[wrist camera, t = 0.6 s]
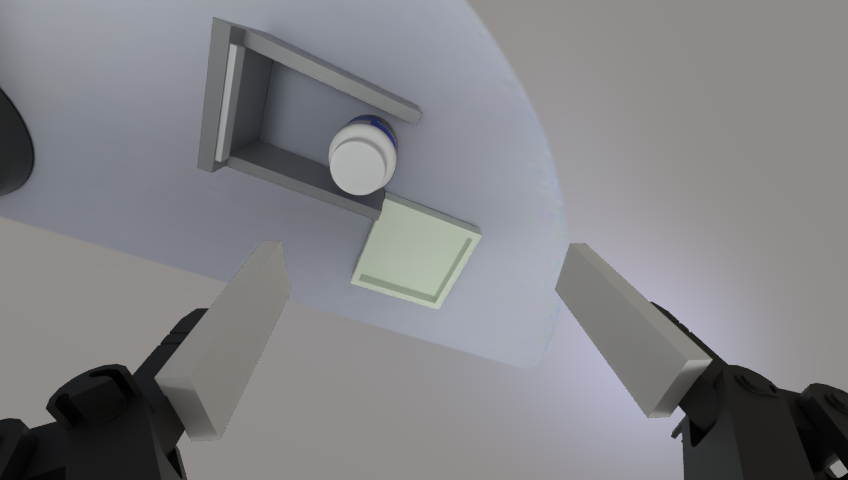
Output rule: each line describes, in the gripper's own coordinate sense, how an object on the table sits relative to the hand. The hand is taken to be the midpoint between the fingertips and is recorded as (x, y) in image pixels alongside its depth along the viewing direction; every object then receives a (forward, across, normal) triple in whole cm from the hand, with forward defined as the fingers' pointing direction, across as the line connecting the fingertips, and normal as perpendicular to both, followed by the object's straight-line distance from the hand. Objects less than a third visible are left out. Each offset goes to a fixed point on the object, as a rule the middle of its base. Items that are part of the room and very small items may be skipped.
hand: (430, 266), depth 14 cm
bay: (+20, -8, +3) cm, 22 cm away
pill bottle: (+20, -4, +2) cm, 20 cm away
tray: (+20, +1, -11) cm, 23 cm away
